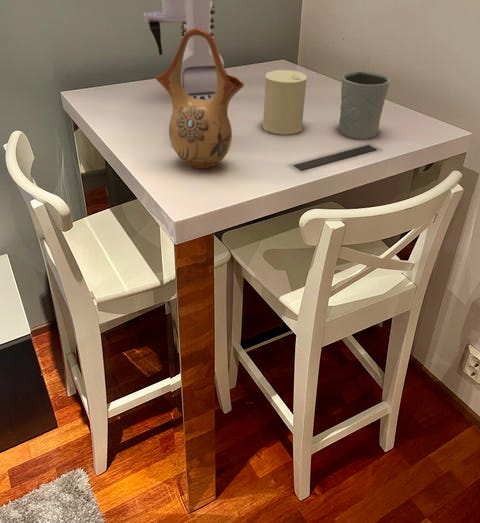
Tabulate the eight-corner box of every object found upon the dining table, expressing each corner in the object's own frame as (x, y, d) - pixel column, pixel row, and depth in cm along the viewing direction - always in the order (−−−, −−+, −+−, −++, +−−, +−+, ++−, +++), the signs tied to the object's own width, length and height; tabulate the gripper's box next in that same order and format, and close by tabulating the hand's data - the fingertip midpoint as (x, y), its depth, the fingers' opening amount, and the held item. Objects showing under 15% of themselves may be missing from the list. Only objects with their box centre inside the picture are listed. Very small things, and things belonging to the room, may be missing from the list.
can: (288, 138, 113) (292, 82, 106) (254, 127, 118) (256, 74, 111) (310, 126, 119) (315, 73, 112) (276, 116, 124) (280, 65, 117)
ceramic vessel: (247, 160, 104) (251, 26, 89) (235, 180, 97) (238, 37, 82) (169, 150, 107) (161, 19, 92) (153, 168, 100) (141, 29, 85)
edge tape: (301, 170, 101) (301, 169, 100) (293, 165, 102) (293, 164, 102) (376, 149, 109) (376, 149, 109) (368, 145, 111) (368, 144, 111)
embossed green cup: (346, 141, 112) (354, 86, 105) (327, 125, 120) (334, 72, 113) (388, 137, 115) (399, 83, 108) (367, 121, 123) (376, 69, 116)
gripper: (203, -12, 124) (202, 46, 133) (141, -12, 121) (145, 47, 131) (207, -2, 119) (206, 57, 128) (143, -3, 116) (147, 58, 126)
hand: (176, 53), depth 129 cm, fingers open, 7 cm apart
